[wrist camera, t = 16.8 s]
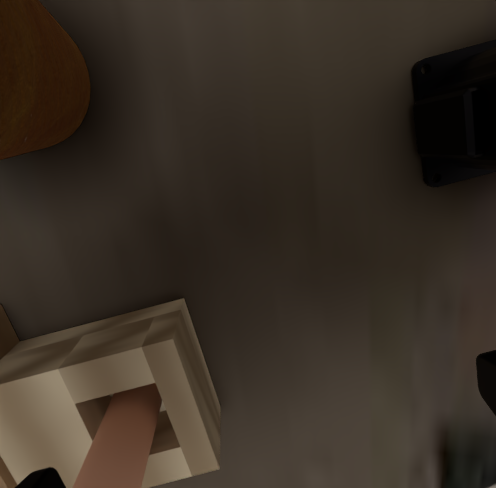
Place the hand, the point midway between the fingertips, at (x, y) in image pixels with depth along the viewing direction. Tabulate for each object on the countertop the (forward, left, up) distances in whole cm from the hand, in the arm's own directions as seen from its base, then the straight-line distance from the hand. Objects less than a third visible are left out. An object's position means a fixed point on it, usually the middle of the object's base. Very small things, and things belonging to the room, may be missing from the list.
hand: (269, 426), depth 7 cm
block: (+9, +6, -13) cm, 17 cm away
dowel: (+7, +6, -12) cm, 15 cm away
